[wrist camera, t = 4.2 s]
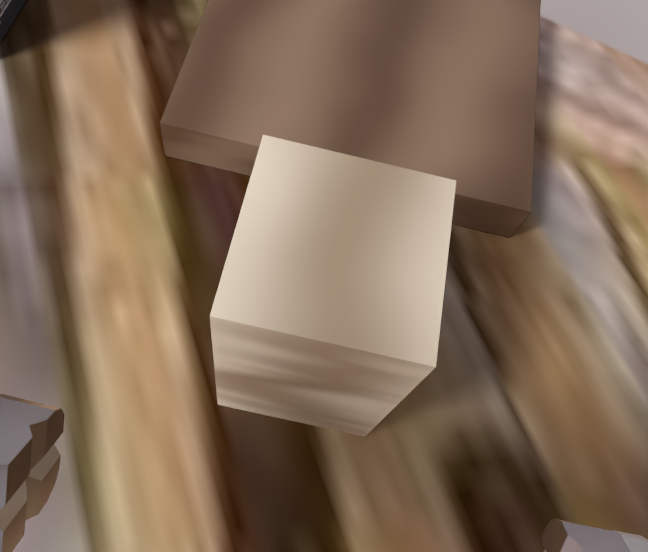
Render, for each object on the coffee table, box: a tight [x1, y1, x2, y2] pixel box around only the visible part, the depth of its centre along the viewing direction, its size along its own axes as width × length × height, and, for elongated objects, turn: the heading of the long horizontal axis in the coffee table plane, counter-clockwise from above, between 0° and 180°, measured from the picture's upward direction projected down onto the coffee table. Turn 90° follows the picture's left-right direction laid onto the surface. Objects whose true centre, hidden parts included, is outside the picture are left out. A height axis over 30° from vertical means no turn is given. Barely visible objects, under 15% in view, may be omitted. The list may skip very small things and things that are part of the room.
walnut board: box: [160, 0, 541, 237], centre depth 26 cm, size 14×12×2 cm
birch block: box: [210, 135, 456, 437], centre depth 18 cm, size 5×5×8 cm
